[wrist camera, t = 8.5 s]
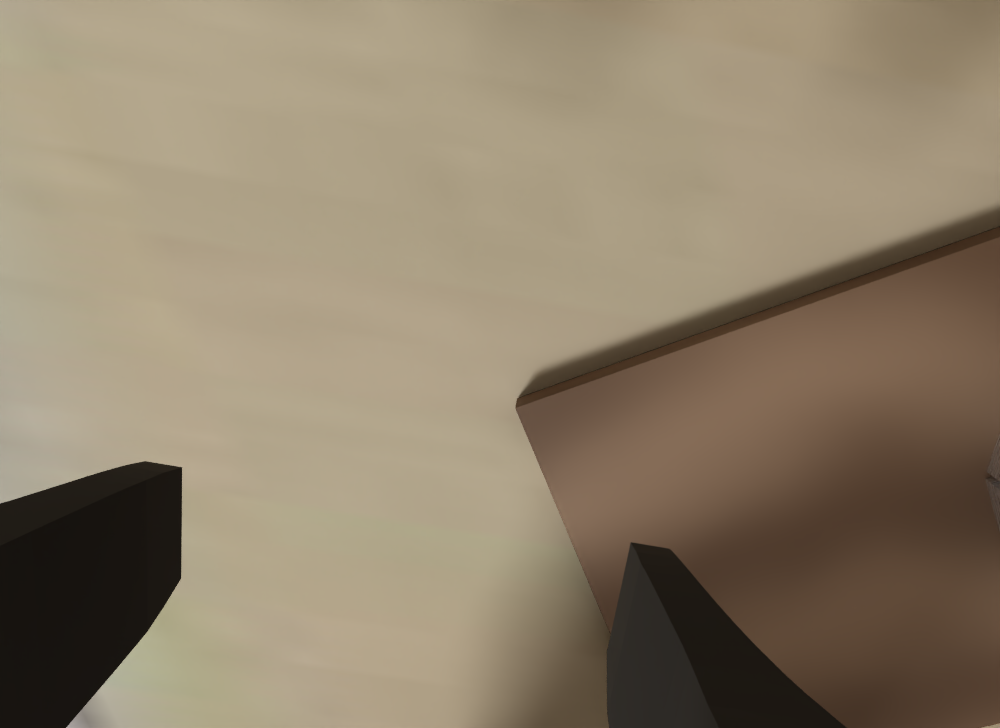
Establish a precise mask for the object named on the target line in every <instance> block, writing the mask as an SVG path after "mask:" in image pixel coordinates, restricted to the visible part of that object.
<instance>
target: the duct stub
mask: <svg viewBox="0 0 1000 728" xmlns="http://www.w3.org/2000/svg"><path fill="white" fill-rule="evenodd" d="M986 472H988V473H989V474H990V475H992V476H993V477H989V478H986V479H985V480H986V483H987V487H988V491H989V495H990V499H991V503H992V507H993V511H994V515H995V519H996V523H997V527H998V530H999V533H1000V434H999V437H998V439H997V442H996V445H995V447H994V450H993V453H992V456H991V458H990V461H989V464H988V466H987V469H986Z"/></svg>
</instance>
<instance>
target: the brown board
mask: <svg viewBox="0 0 1000 728" xmlns="http://www.w3.org/2000/svg"><path fill="white" fill-rule="evenodd" d="M516 411H517V413H518V415H519V418H520V420H521V423H522V425H523V427H524V430H525V432H526V434H527V437H528V439H529V442H530V444H531V446H532V449H533V451H534V454H535V456H536V458H537V461H538V463H539V465H540V468H541V470H542V473H543V475H544V477H545V480H546V482H547V484H548V487H549V489H550V492H551V494H552V496H553V499H554V501H555V504H556V506H557V508H558V511H559V513H560V515H561V518H562V520H563V523H564V525H565V527H566V530H567V532H568V534H569V537H570V539H571V542H572V544H573V546H574V549H575V551H576V554H577V556H578V558H579V561H580V563H581V565H582V568H583V570H584V573H585V575H586V577H587V580H588V582H589V584H590V587H591V589H592V592H593V594H594V596H595V599H596V601H597V604H598V606H599V608H600V611H601V613H602V615H603V618H604V620H605V623H606V625H607V627H608V630H609V632H610V634H611V631H612V626H613V622H614V617H615V612H616V608H617V603H618V599H619V594H620V589H621V585H622V580H623V575H624V571H625V566H626V562H627V557H628V552H629V548H630V543H631V542H633V543H639V544H645V545H651V546H657V547H663V548H669V549H671V550H672V551H673V552H674V553H675V555H676V556H677V557H678V558H679V559H680V560H681V561H682V563H683V564H684V565H685V566H686V567H687V568H688V570H689V571H690V572H691V573H692V574H693V576H694V577H695V578H696V579H697V580H698V582H699V583H700V584H701V585H702V586H703V587H704V589H705V590H706V591H707V592H708V593H709V595H710V596H711V597H712V598H713V599H714V600H715V601H716V603H717V604H718V605H719V606H720V607H721V608H722V609H723V611H724V612H725V613H726V614H727V615H728V616H729V617H730V618H731V619H732V621H733V622H734V623H735V624H736V625H737V626H738V627H739V628H740V629H741V630H742V631H743V633H744V634H745V635H746V636H747V637H748V638H749V639H750V640H751V641H752V642H753V643H754V644H755V645H756V646H757V647H758V648H759V649H760V650H761V651H762V652H763V653H764V654H765V655H766V656H767V657H768V658H769V659H770V660H771V661H772V662H773V663H774V664H775V665H776V666H777V667H778V668H779V669H780V670H781V671H782V672H783V673H784V674H785V675H786V676H787V677H788V678H790V679H791V680H792V681H793V682H794V683H795V684H796V685H797V686H798V687H799V688H801V689H802V690H803V691H804V692H805V693H806V694H807V695H809V696H810V697H811V698H812V699H813V700H814V701H816V702H817V703H818V704H819V705H820V706H822V707H823V708H824V709H825V710H826V711H828V712H829V713H830V714H831V715H832V716H833V717H835V718H836V719H837V720H838V721H839V722H841V723H842V724H843V725H844V726H845V727H847V728H981V727H985V726H990V725H994V724H998V723H1000V533H999V530H998V527H997V523H996V519H995V515H994V511H993V507H992V503H991V499H990V495H989V491H988V487H987V483H986V480H985V479H986V478H989V477H993V476H992V475H990V474H989V473H988V472H986V469H987V466H988V464H989V461H990V458H991V456H992V453H993V450H994V447H995V445H996V442H997V439H998V437H999V434H1000V227H998V228H995V229H992V230H989V231H986V232H984V233H981V234H978V235H975V236H972V237H970V238H967V239H964V240H961V241H958V242H956V243H953V244H950V245H947V246H944V247H941V248H939V249H936V250H933V251H930V252H927V253H925V254H922V255H919V256H916V257H913V258H911V259H908V260H905V261H902V262H899V263H897V264H894V265H891V266H888V267H885V268H882V269H880V270H877V271H874V272H871V273H868V274H866V275H863V276H860V277H857V278H854V279H852V280H849V281H846V282H843V283H840V284H838V285H835V286H832V287H829V288H826V289H823V290H821V291H818V292H815V293H812V294H809V295H807V296H804V297H801V298H798V299H795V300H793V301H790V302H787V303H784V304H781V305H778V306H776V307H773V308H770V309H767V310H764V311H762V312H759V313H756V314H753V315H750V316H748V317H745V318H742V319H739V320H736V321H734V322H731V323H728V324H725V325H722V326H719V327H717V328H714V329H711V330H708V331H705V332H703V333H700V334H697V335H694V336H691V337H689V338H686V339H683V340H680V341H677V342H675V343H672V344H669V345H666V346H663V347H660V348H658V349H655V350H652V351H649V352H646V353H644V354H641V355H638V356H635V357H632V358H630V359H627V360H624V361H621V362H618V363H615V364H613V365H610V366H607V367H604V368H601V369H599V370H596V371H593V372H590V373H587V374H585V375H582V376H579V377H576V378H573V379H571V380H568V381H565V382H562V383H559V384H556V385H554V386H551V387H548V388H545V389H542V390H540V391H537V392H534V393H531V394H528V395H526V396H523V397H520V398H517V403H516Z"/></svg>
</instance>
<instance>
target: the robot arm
mask: <svg viewBox="0 0 1000 728" xmlns="http://www.w3.org/2000/svg"><path fill="white" fill-rule="evenodd" d="M181 527H182V467H176V466H170V465H164V464H158V463H152V462H146V461H145V462H139V463H134V464H130V465H125V466H122V467H118V468H114V469H111V470H107V471H104V472H100V473H97V474H94V475H91V476H87V477H84V478H81V479H78V480H75V481H71V482H68V483H65V484H62V485H59V486H56V487H53V488H49V489H46V490H43V491H40V492H37V493H34V494H30V495H27V496H24V497H21V498H18V499H15V500H11V501H8V502H4V503H1V504H0V728H66V727H67V726H68V725H69V724H70V722H71V721H72V720H73V719H74V718H75V717H76V715H77V714H78V713H79V712H80V711H81V710H82V708H83V707H84V706H85V705H86V704H87V702H88V701H89V700H90V699H91V698H92V697H93V695H94V694H95V693H96V692H97V691H98V690H99V688H100V687H101V686H102V685H103V684H104V683H105V681H106V680H107V679H108V678H109V677H110V676H111V674H112V673H113V672H114V671H115V670H116V669H117V667H118V666H119V665H120V664H121V663H122V661H123V660H124V659H125V658H126V657H127V655H128V654H129V653H130V652H131V651H132V649H133V648H134V647H135V646H136V645H137V643H138V642H139V641H140V640H141V639H142V637H143V636H144V635H145V634H146V632H147V631H148V630H149V628H150V627H151V625H152V624H153V622H154V621H155V619H156V618H157V616H158V615H159V613H160V612H161V610H162V609H163V607H164V605H165V604H166V602H167V600H168V599H169V597H170V596H171V594H172V592H173V591H174V589H175V587H176V586H177V584H178V582H179V581H180V579H181ZM607 713H608V722H609V728H847V727H845V726H844V725H843V724H842V723H841V722H839V721H838V720H837V719H836V718H835V717H833V716H832V715H831V714H830V713H829V712H828V711H826V710H825V709H824V708H823V707H822V706H820V705H819V704H818V703H817V702H816V701H814V700H813V699H812V698H811V697H810V696H809V695H807V694H806V693H805V692H804V691H803V690H802V689H801V688H799V687H798V686H797V685H796V684H795V683H794V682H793V681H792V680H791V679H790V678H788V677H787V676H786V675H785V674H784V673H783V672H782V671H781V670H780V669H779V668H778V667H777V666H776V665H775V664H774V663H773V662H772V661H771V660H770V659H769V658H768V657H767V656H766V655H765V654H764V653H763V652H762V651H761V650H760V649H759V648H758V647H757V646H756V645H755V644H754V643H753V642H752V641H751V640H750V639H749V638H748V637H747V636H746V635H745V634H744V633H743V631H742V630H741V629H740V628H739V627H738V626H737V625H736V624H735V623H734V622H733V621H732V619H731V618H730V617H729V616H728V615H727V614H726V613H725V612H724V611H723V609H722V608H721V607H720V606H719V605H718V604H717V603H716V601H715V600H714V599H713V598H712V597H711V596H710V595H709V593H708V592H707V591H706V590H705V589H704V587H703V586H702V585H701V584H700V583H699V582H698V580H697V579H696V578H695V577H694V576H693V574H692V573H691V572H690V571H689V570H688V568H687V567H686V566H685V565H684V564H683V563H682V561H681V560H680V559H679V558H678V557H677V556H676V555H675V553H674V552H673V551H672V550H671V549H669V548H663V547H657V546H651V545H645V544H639V543H633V542H631V543H630V548H629V552H628V557H627V562H626V566H625V571H624V575H623V580H622V585H621V589H620V594H619V599H618V603H617V608H616V612H615V617H614V622H613V626H612V631H611V636H610V640H609V645H608V649H607Z"/></svg>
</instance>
